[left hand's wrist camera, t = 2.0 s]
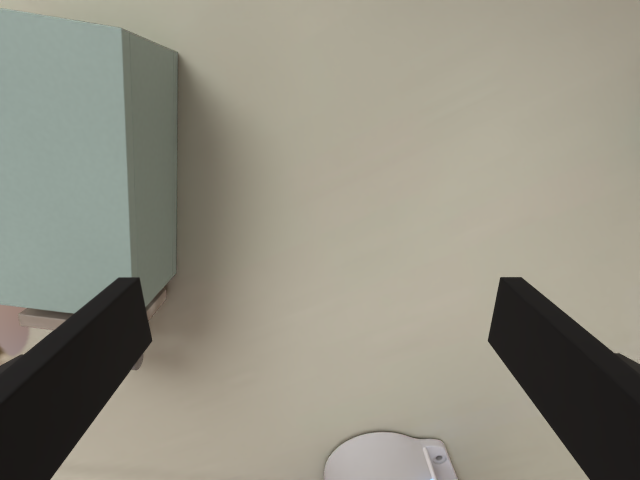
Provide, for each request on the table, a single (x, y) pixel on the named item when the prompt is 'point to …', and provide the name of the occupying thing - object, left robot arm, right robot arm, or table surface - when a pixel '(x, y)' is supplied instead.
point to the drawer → (55, 319)
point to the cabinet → (84, 161)
